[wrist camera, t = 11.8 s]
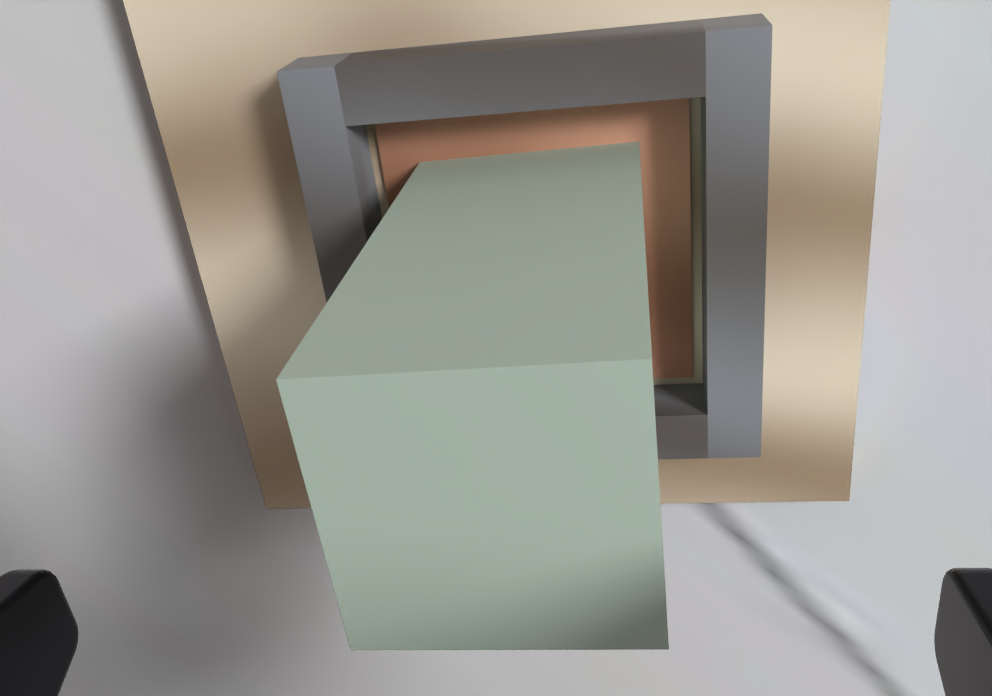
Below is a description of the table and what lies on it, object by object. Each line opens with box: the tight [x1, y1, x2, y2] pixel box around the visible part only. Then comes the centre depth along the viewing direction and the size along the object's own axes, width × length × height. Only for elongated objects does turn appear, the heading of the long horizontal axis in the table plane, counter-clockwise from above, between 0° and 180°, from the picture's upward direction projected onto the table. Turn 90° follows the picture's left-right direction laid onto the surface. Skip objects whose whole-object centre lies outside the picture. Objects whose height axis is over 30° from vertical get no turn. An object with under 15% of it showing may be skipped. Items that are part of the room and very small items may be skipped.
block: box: [276, 141, 669, 650], centre depth 14 cm, size 4×4×8 cm
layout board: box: [123, 0, 890, 509], centre depth 17 cm, size 15×13×2 cm
